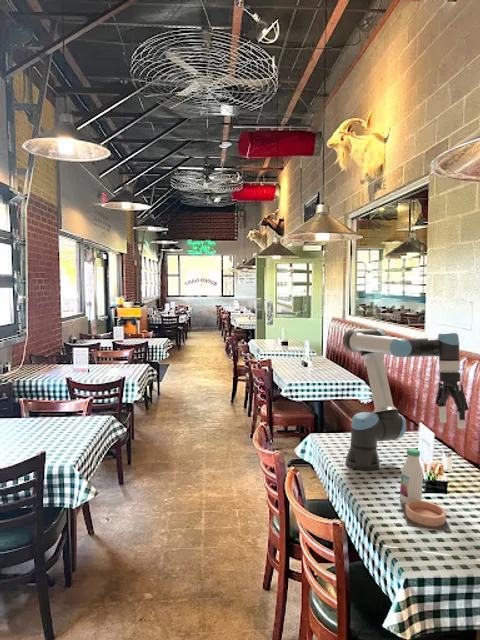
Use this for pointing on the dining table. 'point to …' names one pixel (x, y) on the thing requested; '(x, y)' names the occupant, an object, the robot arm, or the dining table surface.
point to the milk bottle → (411, 477)
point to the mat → (413, 524)
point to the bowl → (425, 513)
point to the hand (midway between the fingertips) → (451, 425)
